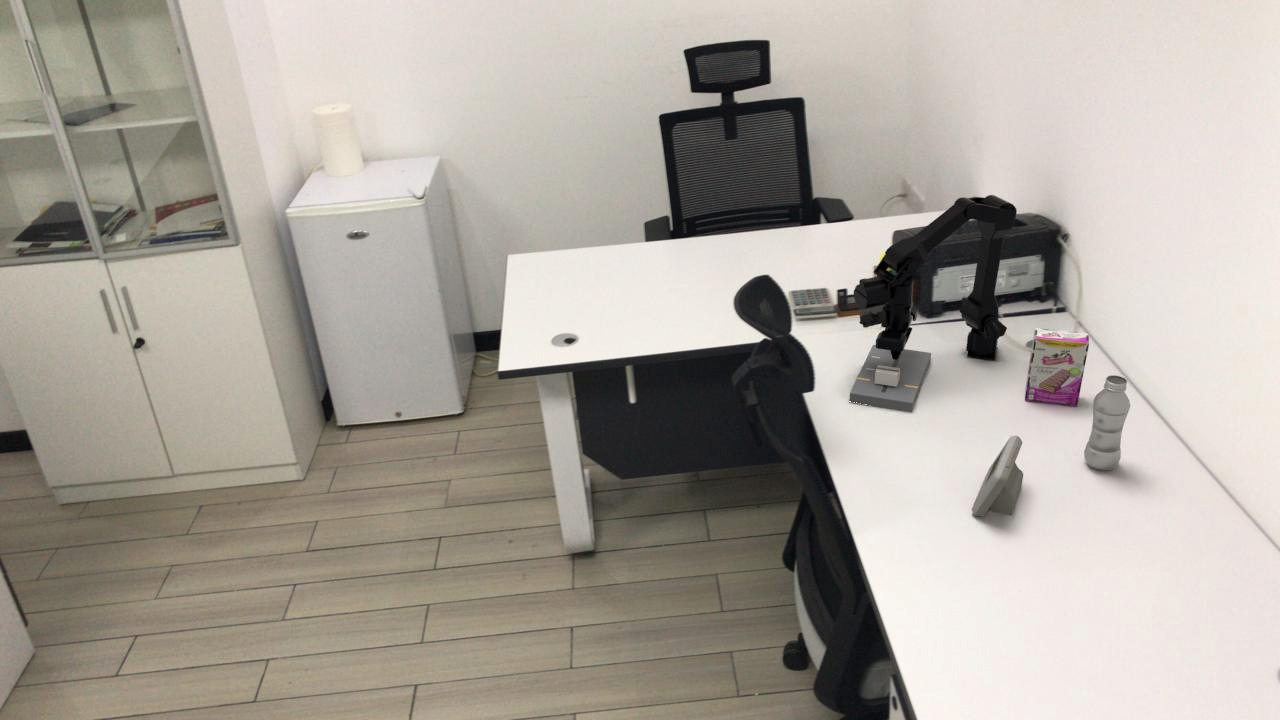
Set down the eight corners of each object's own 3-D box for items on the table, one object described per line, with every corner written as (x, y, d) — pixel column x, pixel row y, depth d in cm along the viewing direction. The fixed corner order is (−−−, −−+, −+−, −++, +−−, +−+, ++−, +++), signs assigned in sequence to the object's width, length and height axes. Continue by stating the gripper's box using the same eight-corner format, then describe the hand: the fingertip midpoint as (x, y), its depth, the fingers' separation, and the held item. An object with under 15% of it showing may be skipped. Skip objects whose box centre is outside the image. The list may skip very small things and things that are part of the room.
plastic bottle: (1121, 475, 198) (1139, 389, 189) (1085, 473, 200) (1101, 387, 190) (1114, 456, 204) (1131, 372, 194) (1079, 454, 205) (1094, 370, 195)
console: (930, 361, 242) (931, 352, 240) (911, 412, 223) (912, 402, 222) (872, 353, 247) (873, 344, 246) (849, 402, 228) (849, 392, 227)
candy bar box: (1024, 402, 224) (1033, 337, 216) (1024, 390, 228) (1033, 327, 220) (1078, 408, 220) (1090, 342, 212) (1077, 396, 224) (1088, 331, 216)
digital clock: (991, 470, 203) (997, 426, 197) (1035, 486, 197) (1042, 441, 192) (955, 511, 192) (960, 465, 187) (1001, 528, 187) (1007, 482, 182)
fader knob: (899, 380, 230) (900, 367, 228) (896, 386, 227) (897, 374, 226) (877, 377, 232) (878, 364, 230) (874, 383, 229) (875, 370, 228)
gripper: (872, 278, 238) (869, 336, 246) (854, 312, 223) (851, 373, 231) (920, 283, 234) (915, 342, 241) (904, 319, 219) (900, 380, 227)
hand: (895, 358), depth 235 cm, fingers closed
